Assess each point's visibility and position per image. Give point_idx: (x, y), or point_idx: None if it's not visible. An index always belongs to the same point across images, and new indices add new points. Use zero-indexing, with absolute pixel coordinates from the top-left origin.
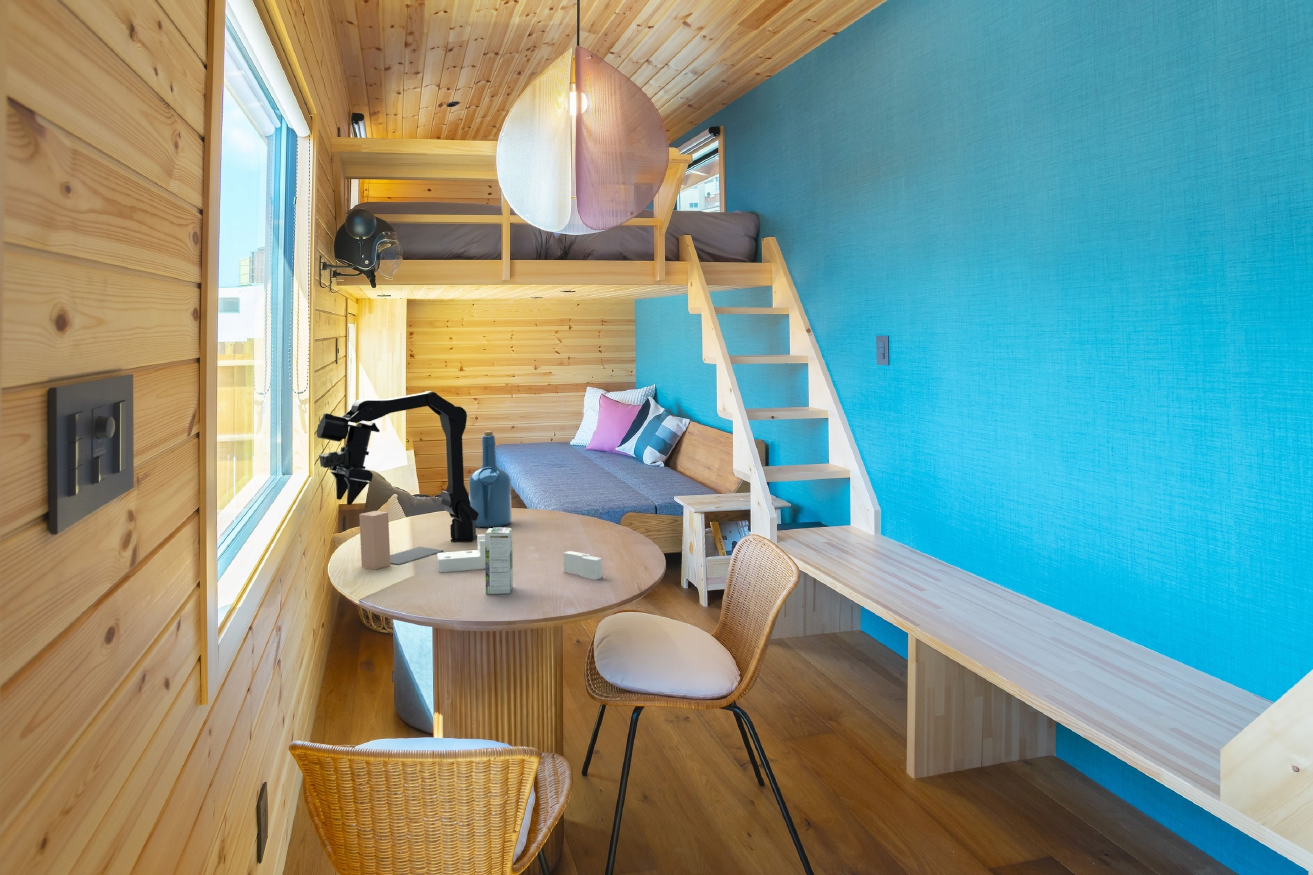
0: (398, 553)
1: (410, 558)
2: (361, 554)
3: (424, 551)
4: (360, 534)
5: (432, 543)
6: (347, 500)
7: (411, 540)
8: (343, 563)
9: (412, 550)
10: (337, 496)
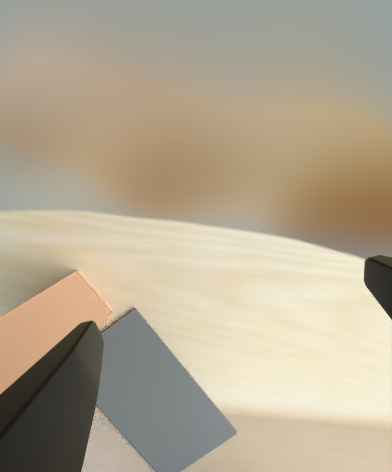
0: (180, 374)
1: (108, 397)
2: (57, 282)
3: (172, 437)
4: (12, 310)
5: (269, 464)
6: (59, 343)
7: (334, 419)
8: (141, 225)
9: (198, 411)
10: (382, 267)
